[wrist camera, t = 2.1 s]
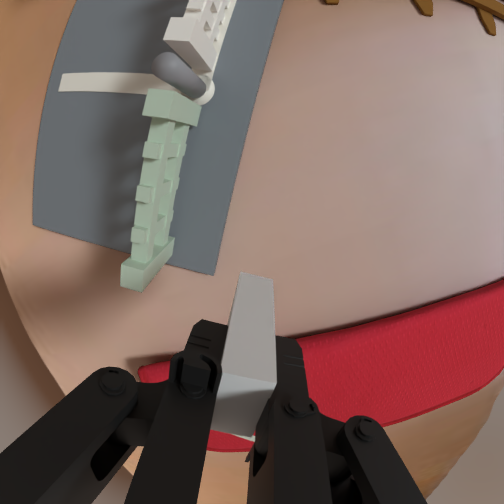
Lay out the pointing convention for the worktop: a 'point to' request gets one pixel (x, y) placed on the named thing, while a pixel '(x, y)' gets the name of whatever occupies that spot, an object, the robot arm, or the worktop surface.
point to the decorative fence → (483, 3)
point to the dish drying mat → (394, 362)
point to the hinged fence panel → (161, 169)
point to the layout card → (144, 124)
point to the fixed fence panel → (197, 32)
